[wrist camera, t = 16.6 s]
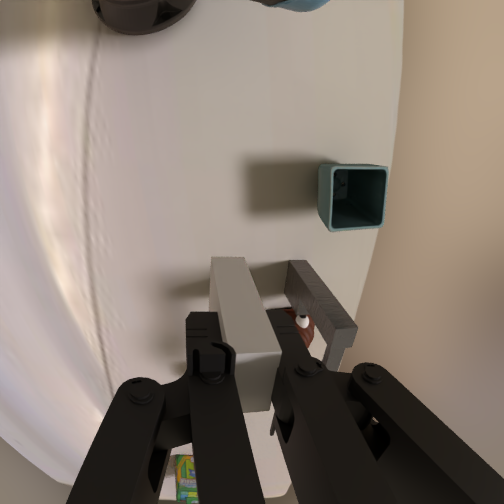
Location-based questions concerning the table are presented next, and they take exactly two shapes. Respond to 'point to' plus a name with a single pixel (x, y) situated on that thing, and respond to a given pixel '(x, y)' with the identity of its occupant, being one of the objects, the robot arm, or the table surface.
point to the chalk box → (185, 479)
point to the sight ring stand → (323, 311)
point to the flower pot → (352, 196)
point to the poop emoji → (303, 326)
